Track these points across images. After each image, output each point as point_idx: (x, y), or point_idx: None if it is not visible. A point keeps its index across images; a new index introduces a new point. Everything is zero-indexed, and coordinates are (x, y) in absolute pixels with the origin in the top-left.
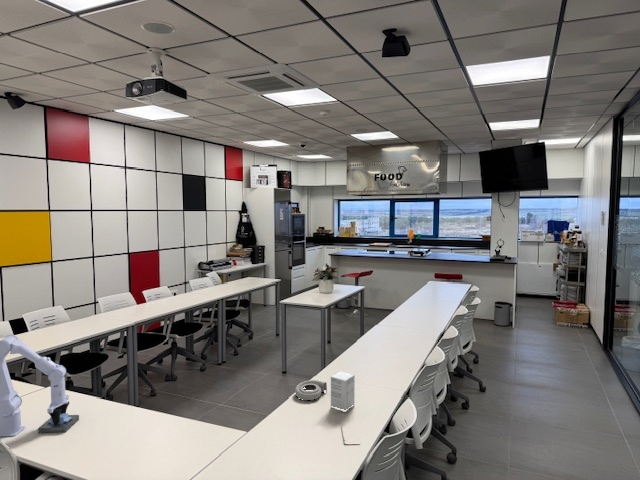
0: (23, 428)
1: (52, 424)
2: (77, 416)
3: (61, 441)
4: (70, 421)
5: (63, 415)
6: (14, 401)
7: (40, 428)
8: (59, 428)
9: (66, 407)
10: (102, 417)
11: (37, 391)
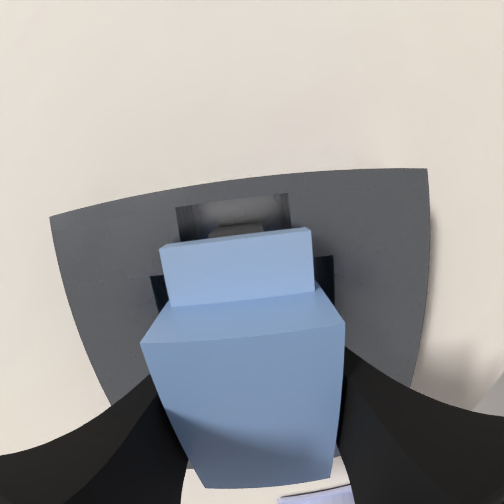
0: (303, 497)
1: None
2: (81, 208)
3: (495, 134)
4: None
5: (255, 377)
6: None
7: None
8: (421, 250)
9: (79, 462)
10: (64, 23)
11: None
